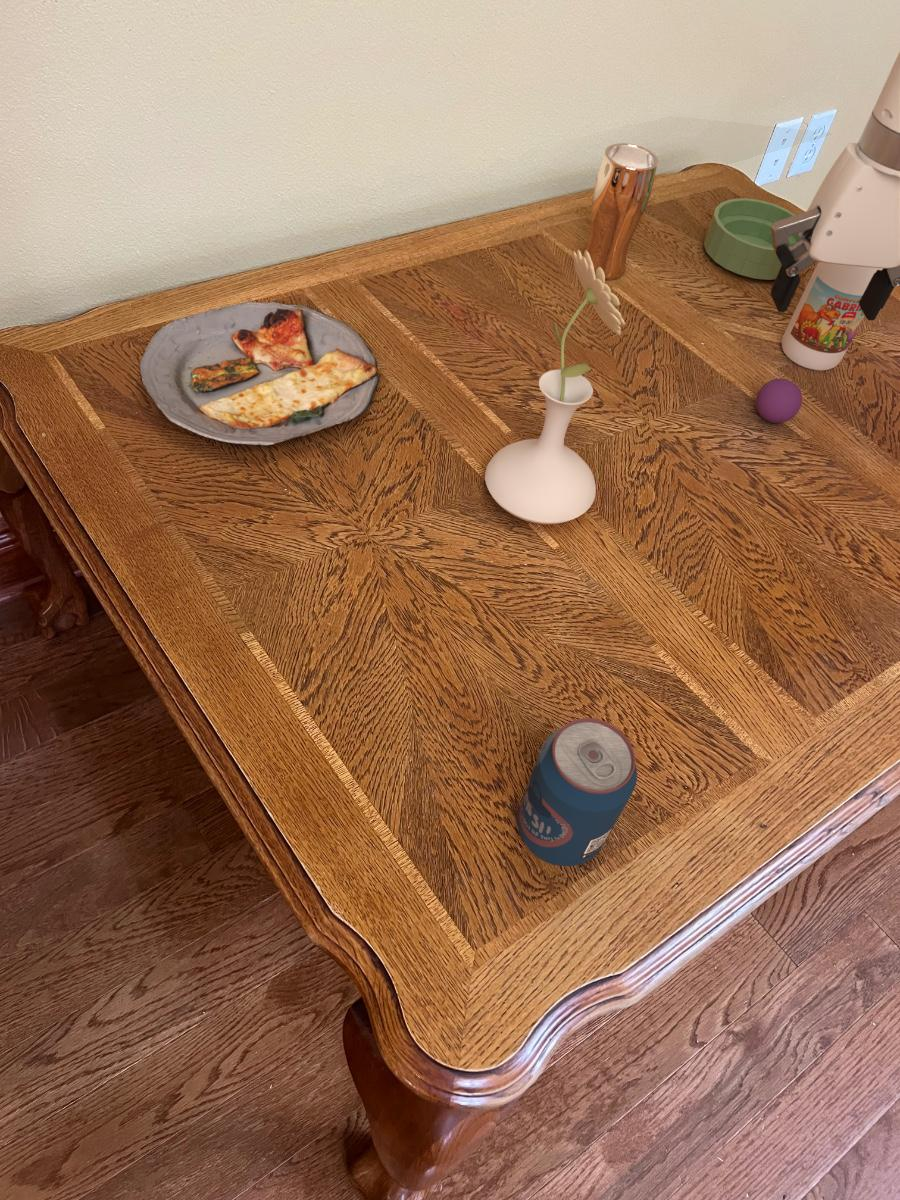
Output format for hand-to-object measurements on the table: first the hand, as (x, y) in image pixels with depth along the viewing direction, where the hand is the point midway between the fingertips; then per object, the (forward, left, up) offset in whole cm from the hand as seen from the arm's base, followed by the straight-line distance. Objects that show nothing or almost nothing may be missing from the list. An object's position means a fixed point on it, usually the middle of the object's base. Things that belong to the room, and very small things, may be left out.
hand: (822, 308), depth 98 cm
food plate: (+58, 0, -15) cm, 60 cm away
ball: (0, 0, -12) cm, 12 cm away
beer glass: (+16, -29, -15) cm, 36 cm away
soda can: (+31, +52, -15) cm, 62 cm away
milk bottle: (-9, -13, -15) cm, 22 cm away
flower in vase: (+29, +14, -15) cm, 35 cm away
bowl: (-6, -35, -15) cm, 39 cm away
